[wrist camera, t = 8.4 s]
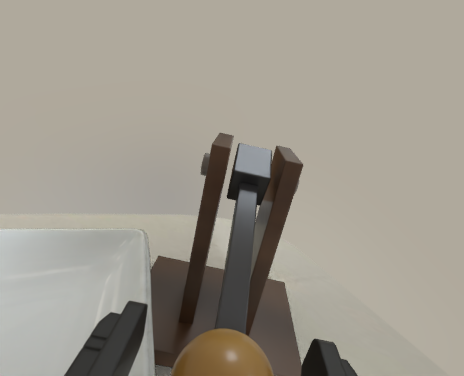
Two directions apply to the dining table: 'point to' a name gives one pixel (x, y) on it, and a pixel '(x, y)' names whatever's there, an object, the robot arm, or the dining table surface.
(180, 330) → the latch bracket
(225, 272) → the lever
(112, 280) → the square plate
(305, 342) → the dining table surface
